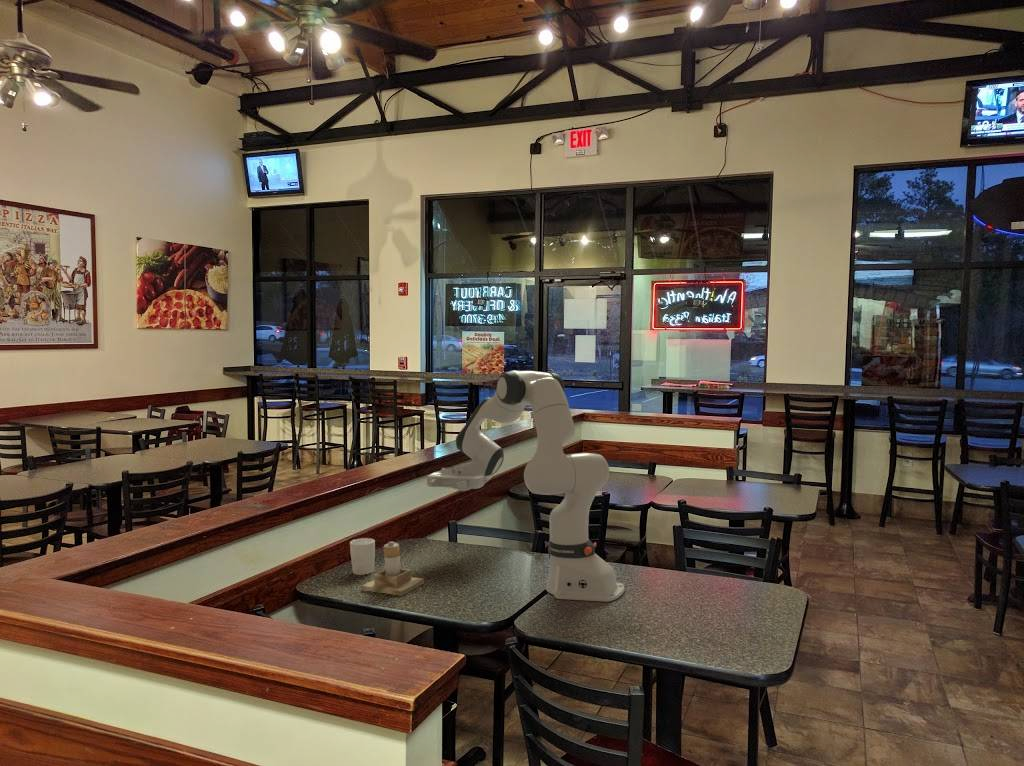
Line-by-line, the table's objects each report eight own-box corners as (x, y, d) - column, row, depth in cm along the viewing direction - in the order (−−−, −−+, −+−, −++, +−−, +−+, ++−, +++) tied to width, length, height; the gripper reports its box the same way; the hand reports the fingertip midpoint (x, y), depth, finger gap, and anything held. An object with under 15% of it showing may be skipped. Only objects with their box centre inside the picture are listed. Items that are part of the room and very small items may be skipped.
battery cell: (404, 580, 213) (401, 540, 213) (395, 585, 209) (392, 545, 209) (392, 578, 215) (389, 539, 215) (382, 583, 211) (380, 543, 211)
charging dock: (424, 583, 215) (423, 568, 215) (401, 596, 204) (400, 581, 204) (386, 578, 221) (385, 564, 221) (361, 590, 210) (361, 575, 210)
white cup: (348, 570, 230) (347, 540, 230) (372, 567, 234) (371, 536, 233) (354, 577, 223) (352, 545, 223) (378, 573, 226) (377, 542, 226)
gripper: (491, 488, 243) (471, 496, 230) (440, 485, 252) (418, 493, 239) (490, 469, 242) (470, 476, 230) (439, 467, 251) (417, 474, 239)
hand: (443, 485), depth 235 cm, fingers open, 8 cm apart
